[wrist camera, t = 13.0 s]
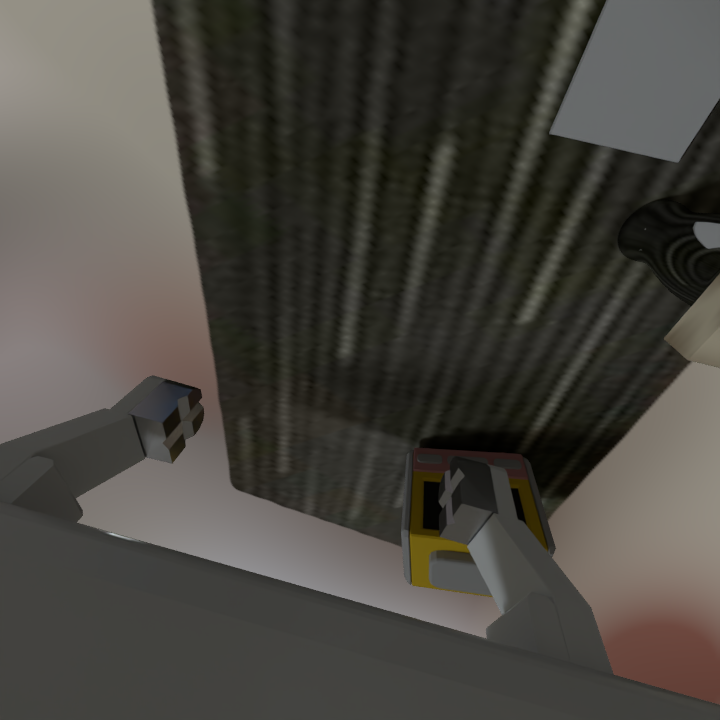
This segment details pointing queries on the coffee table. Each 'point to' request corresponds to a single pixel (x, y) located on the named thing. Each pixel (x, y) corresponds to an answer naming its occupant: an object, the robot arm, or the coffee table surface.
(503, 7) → the coffee table surface
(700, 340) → the birch lid
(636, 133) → the grey mat
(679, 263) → the beer glass
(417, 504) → the alarm clock
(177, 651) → the robot arm
